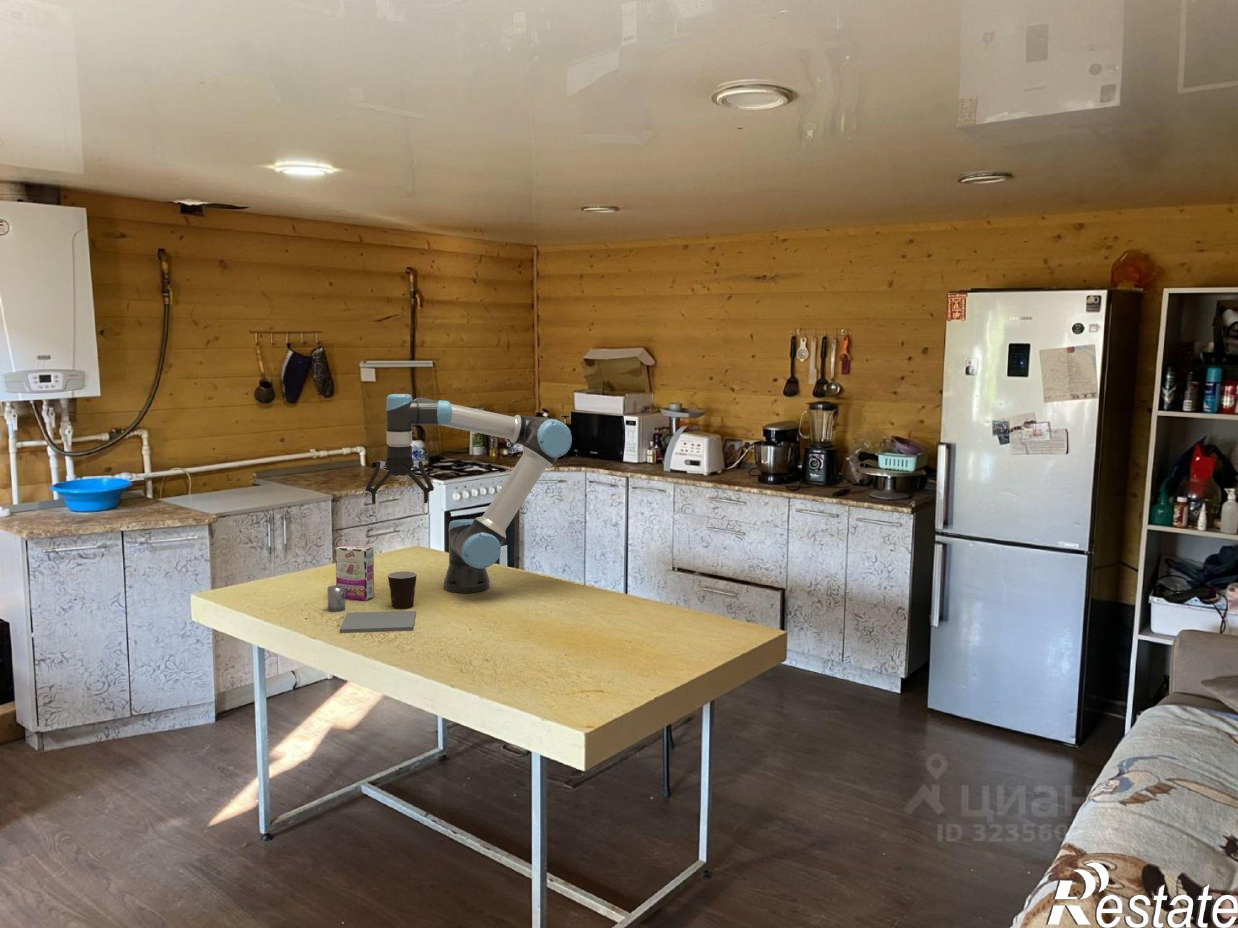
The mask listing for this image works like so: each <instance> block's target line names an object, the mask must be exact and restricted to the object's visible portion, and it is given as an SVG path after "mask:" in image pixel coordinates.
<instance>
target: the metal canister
mask: <svg viewBox="0 0 1238 928" xmlns="http://www.w3.org/2000/svg"><path fill="white" fill-rule="evenodd" d="M326 589H327V611H328V612H329V613H340V612H344V611H345V610H346V599H345V586H342V585H336V584H335V585H329V586H328V587H327V588H326Z"/></svg>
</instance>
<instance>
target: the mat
mask: <svg viewBox="0 0 1238 928" xmlns="http://www.w3.org/2000/svg"><path fill="white" fill-rule="evenodd" d="M416 616H417V610H398V611H397V610H396V611H394V610H393V611H390V610H389V611H364V612H362V611H361V612H347V613H346V614H345V617H344V618H343V621H342V623H341V625H340V628H339V634H343V633H348V634H349V633H371V632H372V633H373V632H377V633H378V632H402V631H403V632H406V631H407V632H408V631H414V628H415V627H414V626H415V623H416V622H415V621H416Z"/></svg>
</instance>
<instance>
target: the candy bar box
mask: <svg viewBox="0 0 1238 928" xmlns="http://www.w3.org/2000/svg"><path fill="white" fill-rule="evenodd" d="M374 560H375V559H374V547H370V546H360V545H359V546H358V545H346V544H342V545H341V546H337V547H335V574H336V575H335V576H336V577H335V582H336V584H335V585H342V586H345V600H356V601H364V602H365V601H369V600H371V599H374V598H375V572H374V571H375V567H374V565H375V564H374V562H375V561H374Z"/></svg>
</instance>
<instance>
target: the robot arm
mask: <svg viewBox="0 0 1238 928" xmlns="http://www.w3.org/2000/svg"><path fill="white" fill-rule="evenodd" d="M385 403H386V404H385V405H386V407H385V413H386V415H385V416H386V419H385V420H386V421H385V422H386V444H387V446H386V461H383V460H382V461H381V460H377V461H376V463H375V469H374V471H373V473H372V475H371V478H369V481H368V483H367V485H366V487H365V491H366V492H369V493H371V494H370V495H371V503H372V504H373V505H374V504H375V516H379V514H380V492H378V490H379V489H380V488H381V487H382V486H383V484H385V482H386V481H387V480H388V479H389V478H390V477H391V475H393V476H394V477H397V476H401V477H403V476H404V477H405V476H409V477H410V479H412V481H413V482H414V483H415V484H416V485H417V486H418V487H419V489H420V490H421V491H422V492H420V493H421V499H420V500H421V505H420V506H421V515H425V504H428V502H429V493H430V492H433V491H434V490H435V487H434V484H433V483H432V480H431V478H430V477H429V475H428V473H427V471H426V470H425V468H424V461H423V460H422V459H421V460H418V461H414V460H413V446H412V444H413V426H443V427H447V428H452V429H458V430H461V431H467V432H472V433H476V434H477V433H478V434H483V435H487V436H492V437H497V438H502V439H508V440H509V441H510V443H512V444H517V445H520V446H522V455H521V456H520V458H519V459H518V461H517V463H516V464H515V466H514V467H513V469H512V470H511V472H510V473H509V475H508V476H507V478H506V480H505V481H504V482H503V484H502V486H501V487H500V489H499V490H498V491H497V492H496V493H497V494H496V495H495V496H494V497H493V500H492V501H491V502H490V504H489V506H488V507H487V508H486V510H485V511H484V513H483V515H482V516H479V517H475V518H468V519H467V518H465V519H453V520H451V521H450V522H449V524H448V558H449V559H448V561H449V562H448V563H449V564H448V569H447V570H446V574H445V577H444V580H443V589H444V590H445V591H447V592H452V593H460V594H465V593H466V594H468V593H470V594H471V593H479V592H483V591H486V590H489V588H490V586H491V585H490V582H491V581H490V577H489V574H488V572H487V568H489V567H491V566H492V565H494V564H495V563H496V562H497V561H498V559H499V558H500V556H501V551H502V550H501V548H502V545H503V543H504V541H505V540H506V538H507V534H506V529H507V528H508V527H509V525H510V523H511V522H512V520H513V519H514V518H515V516H516V514H517V513H518V512H519V510H520V509H521V507H522V506H523V504H524V502H525V501H526V500H527V497H528V496H529V495H530V493H531V491H532V490H533V488H534V487H535V485H536V483H538V480H540V478H541V476H542V474H543V473H544V472H545V470H546V469H548V468H552V467H553V466H554V465H555V463H556V462H557V460H558V458H560V457H562V456H564V455H566V454H567V453H568V451H569V450H570V448H571V446H572V442H573V441H572V440H573V437H572V433H571V430H570V428H569V427H568V426H567V424H565V423H564V422H562V421H560V420H558V419H556V418H549V417H544V416H525V415H521V414H516V415H514V416H512V415H511V416H510V415H506V414H502V413H496V412H492V411H488V410H482V409H477V408H473V407H467V406H464V405H459V404H453V403H451V402H450V401H449V400H441V399H440V400H434V399H430V398H426V397H417V398H415V399H413V397H412V395H411V394H409V393H393V394H388V395H387V396H386V402H385ZM384 466H385V467H386V469H387V470H388V471H387V472H386V473H385V475H384V476H383V477H382V478H381V479H380V480H379V481H378V482H377V484H376V485H375V486H374V487H372V486H373V485H374V482H375V481H376V478H377V476H378V475H379V472H380V471H381V469H383V468H384ZM414 466H415V467H416V469H418V470H419V472H420V474H421V476H422V477H423V480H424V482H425V483H426V485H427V486H426V485H425V484H424V483H423V482H422V481H421V479H420V478H419V477H418V476H417V475H416V474H415V473H414V471H413V470H412V469H413V467H414Z"/></svg>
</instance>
